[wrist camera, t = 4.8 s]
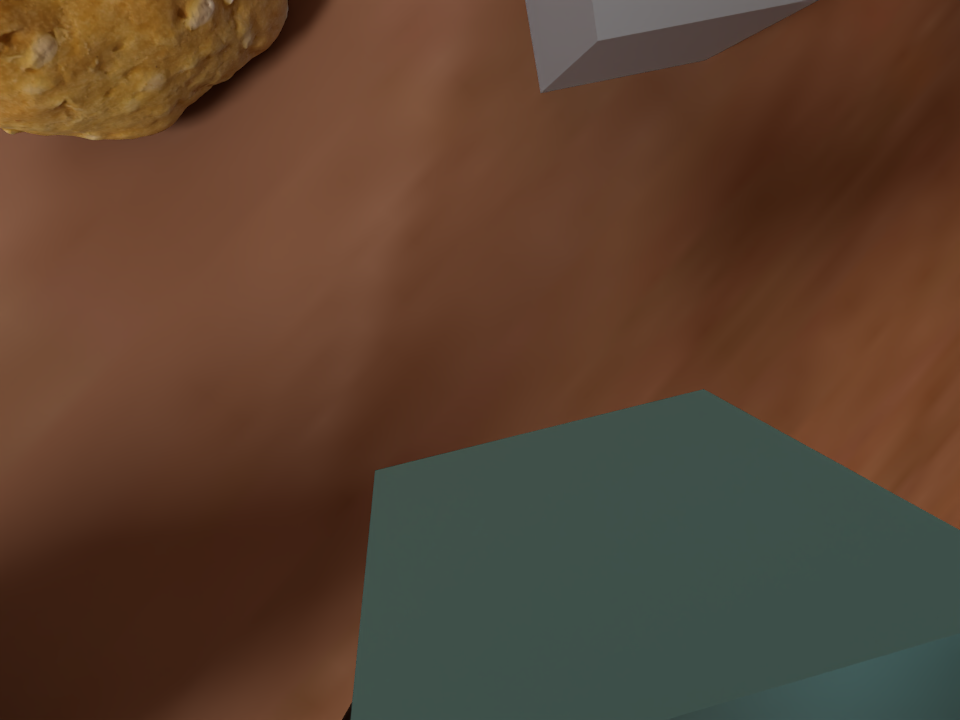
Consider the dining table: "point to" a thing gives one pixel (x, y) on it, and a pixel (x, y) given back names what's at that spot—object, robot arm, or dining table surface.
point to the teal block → (654, 580)
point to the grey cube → (639, 34)
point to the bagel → (122, 60)
